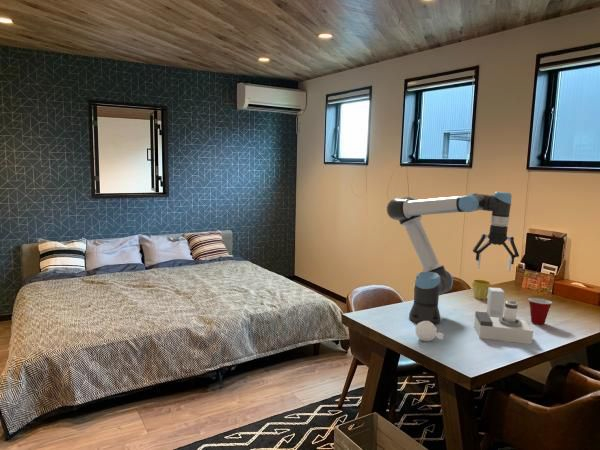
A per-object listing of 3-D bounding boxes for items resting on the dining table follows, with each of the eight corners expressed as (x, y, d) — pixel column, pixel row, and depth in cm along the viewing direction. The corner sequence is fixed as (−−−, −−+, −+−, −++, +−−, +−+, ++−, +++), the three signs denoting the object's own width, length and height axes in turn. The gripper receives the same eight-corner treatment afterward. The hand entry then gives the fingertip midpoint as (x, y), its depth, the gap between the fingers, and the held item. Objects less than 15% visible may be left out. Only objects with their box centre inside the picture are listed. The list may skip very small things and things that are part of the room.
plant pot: (491, 297, 268) (492, 281, 267) (487, 301, 260) (489, 284, 258) (472, 293, 274) (474, 278, 272) (469, 297, 265) (470, 281, 264)
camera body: (479, 338, 203) (480, 321, 202) (474, 327, 217) (475, 311, 216) (531, 344, 199) (533, 326, 198) (523, 332, 212) (525, 316, 211)
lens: (504, 324, 204) (507, 303, 203) (502, 320, 209) (504, 299, 208) (516, 325, 203) (519, 304, 202) (513, 322, 208) (516, 300, 207)
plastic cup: (546, 320, 230) (549, 298, 229) (552, 328, 220) (555, 304, 218) (523, 317, 233) (526, 295, 232) (527, 325, 223) (530, 301, 221)
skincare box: (502, 322, 225) (505, 292, 223) (488, 321, 227) (491, 291, 224) (498, 316, 233) (501, 287, 231) (485, 315, 235) (488, 286, 232)
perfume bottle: (411, 338, 195) (440, 347, 190) (417, 317, 196) (445, 326, 191) (414, 337, 203) (441, 346, 198) (419, 317, 204) (446, 325, 199)
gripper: (472, 223, 210) (466, 267, 213) (530, 228, 204) (523, 274, 208) (470, 221, 217) (464, 264, 220) (525, 226, 211) (519, 270, 215)
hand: (493, 269), depth 214 cm, fingers open, 13 cm apart
